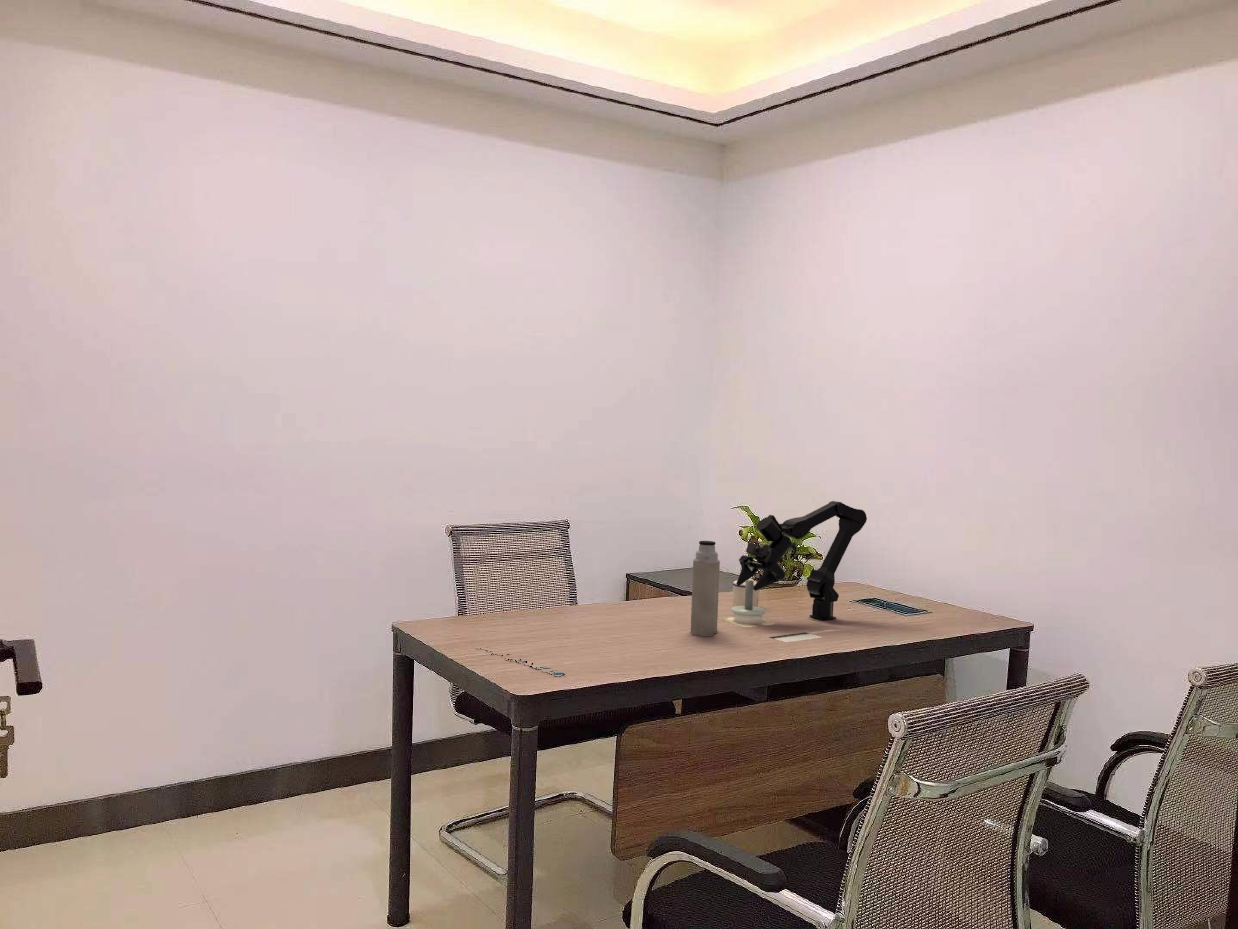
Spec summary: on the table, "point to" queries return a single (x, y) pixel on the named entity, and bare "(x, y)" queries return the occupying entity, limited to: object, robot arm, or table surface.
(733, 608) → the lid
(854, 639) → the table surface
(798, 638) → the mat
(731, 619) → the board
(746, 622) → the bowl
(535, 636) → the table surface
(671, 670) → the table surface
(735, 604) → the teacup with lid
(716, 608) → the thermos bottle
